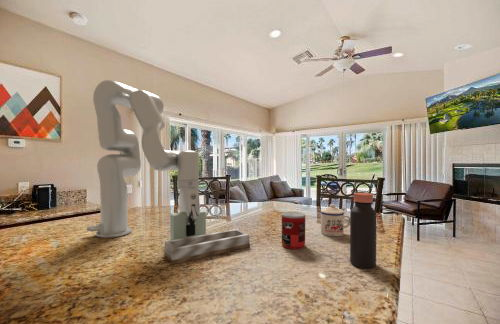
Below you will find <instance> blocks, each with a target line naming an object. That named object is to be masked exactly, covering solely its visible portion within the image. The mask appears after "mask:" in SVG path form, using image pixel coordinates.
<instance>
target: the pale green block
mask: <svg viewBox="0 0 500 324" xmlns="http://www.w3.org/2000/svg"><path fill="white" fill-rule="evenodd" d="M169 214H170V241H171V240H177V239H183V238H188V237H194V236H200V235H205V234H206V233H207V225H206V224H207V212H206V211H205V210H202V209H200V215H199V216H197V219H196V221H195V222H196V224H195V235H192V236H186V225H187V216H185V214H183V213H180V212H174V213H169ZM189 215H190V216H192V214H189ZM196 215H197V214H196ZM190 219H191V218H189V221H190Z"/></svg>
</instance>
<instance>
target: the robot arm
mask: <svg viewBox="0 0 500 324" xmlns="http://www.w3.org/2000/svg"><path fill="white" fill-rule="evenodd" d="M92 98H93V100H92V102H93V106H94V110H95V114H96V123H97V124H96V125H97V132H98V133H97V135H98V141H99V145H100V147H101V148H102V149H103V150H104V151H109V152H119V154H118V153H116V154H114V153H112V154H111V153H110V154H105V155H104V156H102V157H100V158H99V159H98V162H97V165H96V167H97V169H96V170H97V174H98V178H99V191H100V222H99V223H98V224H96V225H88V226H86V232H91V233H92V232H95V235H96V237H98V238H103V239H104V238H105V239H106V238H118V237H123V236H126V235H128V234H131V233H132V231H133V228H132V227H131V226H129V225H128V222H129V221H128V220H129V219H128V218H129V217H128V216H129V214H128V208H129V207H128V186H127V182H126V180H125V178H129V177H130V178H131V177H134V176H137V175H138V174H139V172H140V170H141V165H142V163H141V162H142V161H141V151H140V143H139V138H138V136H137V134H135V133H134V132H133V131H131V130H130V129H126V128H125V129H124V128H123V124H122V117H121V114H120V112H119V109H118V108H117V106H116V105H118V106H122V107H125V108H128V109H131V110H132V111H133V113H134V116H135V118H136V120H137V121H138V124H139V126H140V127H141V130H142V135H141V149H142V152H143V154H144V156H145V158H146V159H147V162H148V164H149V165H150V167H151V168H153V169H154V170H155V171H158V172H166V171H177V189H178V190H179V195H178V196H179V197H178V210H179V213H183V214H185V216H187V225H186V236H192V235H195V224H196V222H195V221H196V219H197V216H199V215H200V210H201V205H200V193H199V188H200V182H199V181H200V179H199V178H200V177H199V176H200V175H199V174H200V173H199V169H200V168H199V167H200V164H199V163H200V162H199V161H200V159H199V153H198V151H196V150H180V151H178V150H169V149H165V147H163V144H162V142H161V140H160V135H159V133H160V132H161V131H163V129H164V128H165V125H166V123H165V121H164V119H163V117H162V115H161V114H162V113H163V111H164V102H163V100H162V99H161V97H159V96H158V95H156V94H154V93H151V92H149V91H146V90H143V89H137V88H134V87H132V86H129V85H127V84H124V83H122V82H119V81H115V80H111V79H105V80H103V81H102V80H101V81H100V82H99V83H98V84H97V86H95V88H94V90H93V96H92ZM189 214H192V216H190V215H189ZM196 214H197V215H196ZM189 218H191V219H190V221H189Z"/></svg>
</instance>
